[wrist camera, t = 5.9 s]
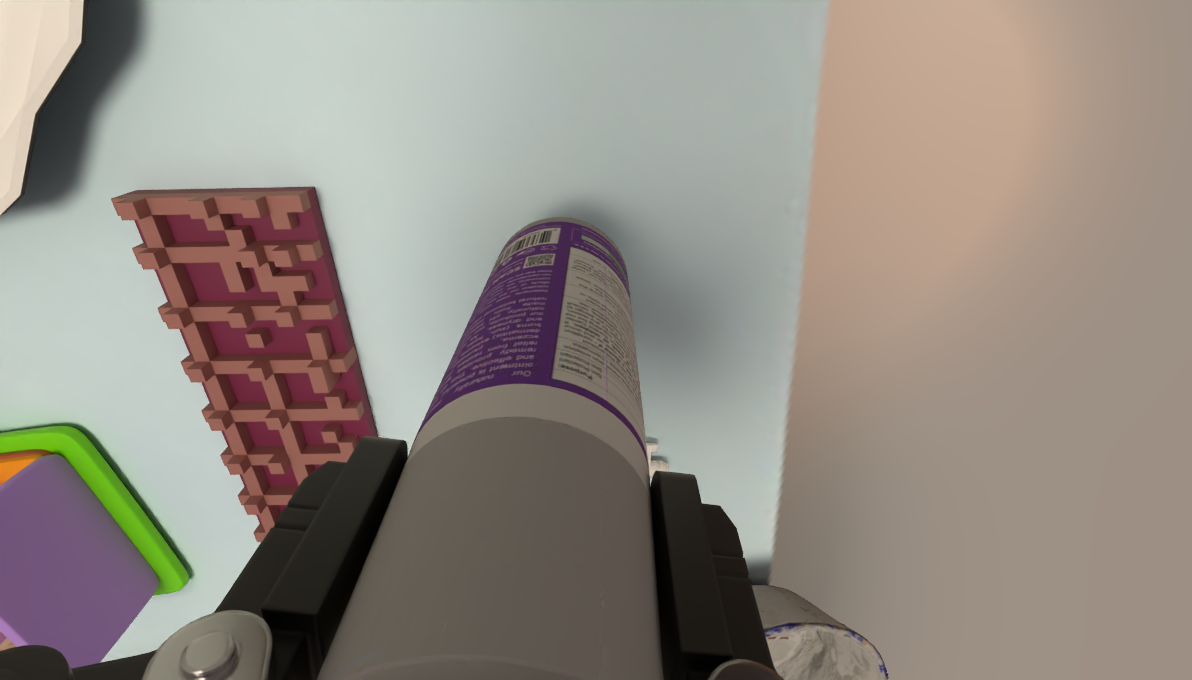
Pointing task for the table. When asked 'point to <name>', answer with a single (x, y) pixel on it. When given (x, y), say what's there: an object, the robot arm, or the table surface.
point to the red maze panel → (258, 329)
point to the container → (521, 491)
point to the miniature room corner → (73, 547)
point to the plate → (31, 77)
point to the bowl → (813, 640)
